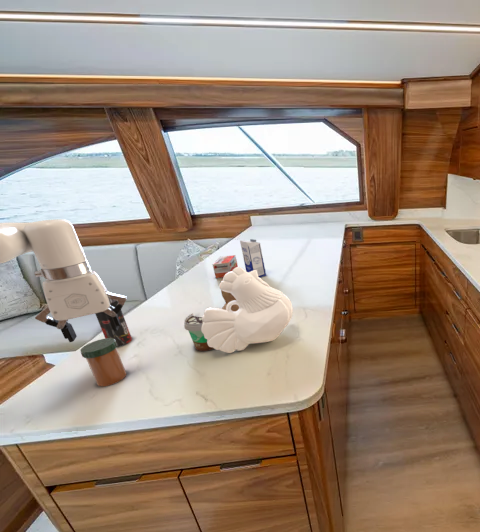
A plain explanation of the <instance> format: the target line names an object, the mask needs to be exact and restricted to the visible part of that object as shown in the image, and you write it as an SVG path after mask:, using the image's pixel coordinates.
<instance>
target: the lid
mask: <svg viewBox="0 0 480 532" xmlns="http://www.w3.org/2000/svg"><path fill="white" fill-rule="evenodd" d="M115 348H118V347H117V342H116V340H115V339H114V338H105V337H104V338H101V339H98V340H94V341H92V342H89V343H87V344H86V345H84V346H82V347H81V349H80V354H81V356H82V358H84V359H86V358H95V357H99V356H102V355H105V354H107V353H109V352H111V351H113V350H114V349H115Z"/></svg>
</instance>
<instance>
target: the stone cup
mask: <svg viewBox="0 0 480 532" xmlns="http://www.w3.org/2000/svg"><path fill="white" fill-rule="evenodd" d="M222 281H223V278H222V279H221V280H220V283H221V282H222ZM220 292H221V296H222V298H223V300H224V302H225V303H224V304H223V306H222V307H221V309H224V310H226V306H227V304H228V303H229V302H231V301H233V300H236V299H235V298H234V296H233V295H232V294H231V293H228V292H224V291H222V290H221V289H220ZM238 309H239V306H238V305H236V304H234V305H232V306H231V310H232V311H237V310H238Z"/></svg>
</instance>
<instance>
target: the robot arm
mask: <svg viewBox="0 0 480 532" xmlns="http://www.w3.org/2000/svg"><path fill="white" fill-rule="evenodd" d="M32 252H33V253H34V256H35V257H36V260H37V262H38V265H39V266H40V269H39V270H36V271H34V276H35V277H36V278H40V277H42V278H44V281H42V289H43V293H44V297H45V300H46V304H47V306H46V307H45V308H44V309H43V310H41V311H40V312H39V313H38V314H37V315H36V316H35V317H34V318H35V320H36V321H38V322H41V323H45V325H47V326H50V327H54V328H56V329H57V330H60V331H61V333H62V335H63V338H64V339H65V340H68V342H69V343H73V342H74V341H75V340H76V338H77V337H78V336H77V333H76V331H75V329H74V327H73V325H72V323H69V320H73V319H77V318H81V317H85V316H91V315H96V314H95V313H99V312H104V313H106V314H108V315H109V316H110V317H109V321H110V323H111V326H112V328H113V331H117V330H118V328H119V326H120V325H121V322H120V320H119V317H118V315H117V313H118V312H119V311H120V310H122V309H123V307H124V305H125V303H126V301H127V299H128V297H127V296H125V295H122V294H117V293H113V292H110V291H108V288H107V287H106V285H105V284H104V281H103V280H102V279H101V278H100V276H99V275H98V273H97V272H96V271H94V270H92V268H91V266H90V264H89V262H88V260H87V257H86V254H85V252H84V249H83V247H82V244H81V242H80V240H79V237H78V235H77V233H76V230H75V227H74V225H73V224H72V222H71V221H69V220H67V219H63V218H55V219H45V220H43V219H42V220H36V221H31V222H0V265H1V264H6V263H7V262H9V261H12V260H13V259H15V258H17V257H19V256H20V257H21V256H23V255H24V254H27V253H32ZM111 299H112V300H116V301H118V304H117V305H116V307H115V308H114V307H112V306H111V305H110V304H111V302H112V301H111ZM49 314H51V317H50V316H49Z"/></svg>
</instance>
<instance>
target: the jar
mask: <svg viewBox="0 0 480 532" xmlns="http://www.w3.org/2000/svg"><path fill="white" fill-rule="evenodd" d="M85 360H86V362H87V364H88V367H89V369H90V372H91V374H92V376H93V378H94V380H95V383H96V385H97V386H98V387H102V388H103V387H108V386H111V385H114V384H116V383H119V382H121V381H122V380H123V379H125V377H127V370H126V368H125V366H124V363H123V361H122V358H121V356H120V353H119V351H118V347H116V348H115V349H114V350H113V351H111V352H109V353H107V354H105V355H102V356H99V357H95V358H85Z"/></svg>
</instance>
